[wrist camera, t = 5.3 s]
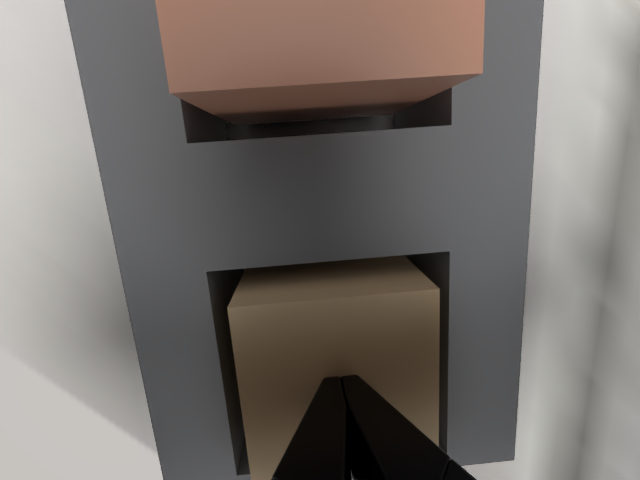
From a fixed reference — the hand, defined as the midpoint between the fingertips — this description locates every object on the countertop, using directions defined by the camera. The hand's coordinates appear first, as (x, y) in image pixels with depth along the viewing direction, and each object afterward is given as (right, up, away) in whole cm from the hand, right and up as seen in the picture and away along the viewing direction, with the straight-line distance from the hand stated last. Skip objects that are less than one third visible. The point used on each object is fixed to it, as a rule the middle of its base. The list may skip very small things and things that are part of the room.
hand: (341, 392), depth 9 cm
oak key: (0, +1, +5) cm, 6 cm away
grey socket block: (-1, +6, +5) cm, 7 cm away
